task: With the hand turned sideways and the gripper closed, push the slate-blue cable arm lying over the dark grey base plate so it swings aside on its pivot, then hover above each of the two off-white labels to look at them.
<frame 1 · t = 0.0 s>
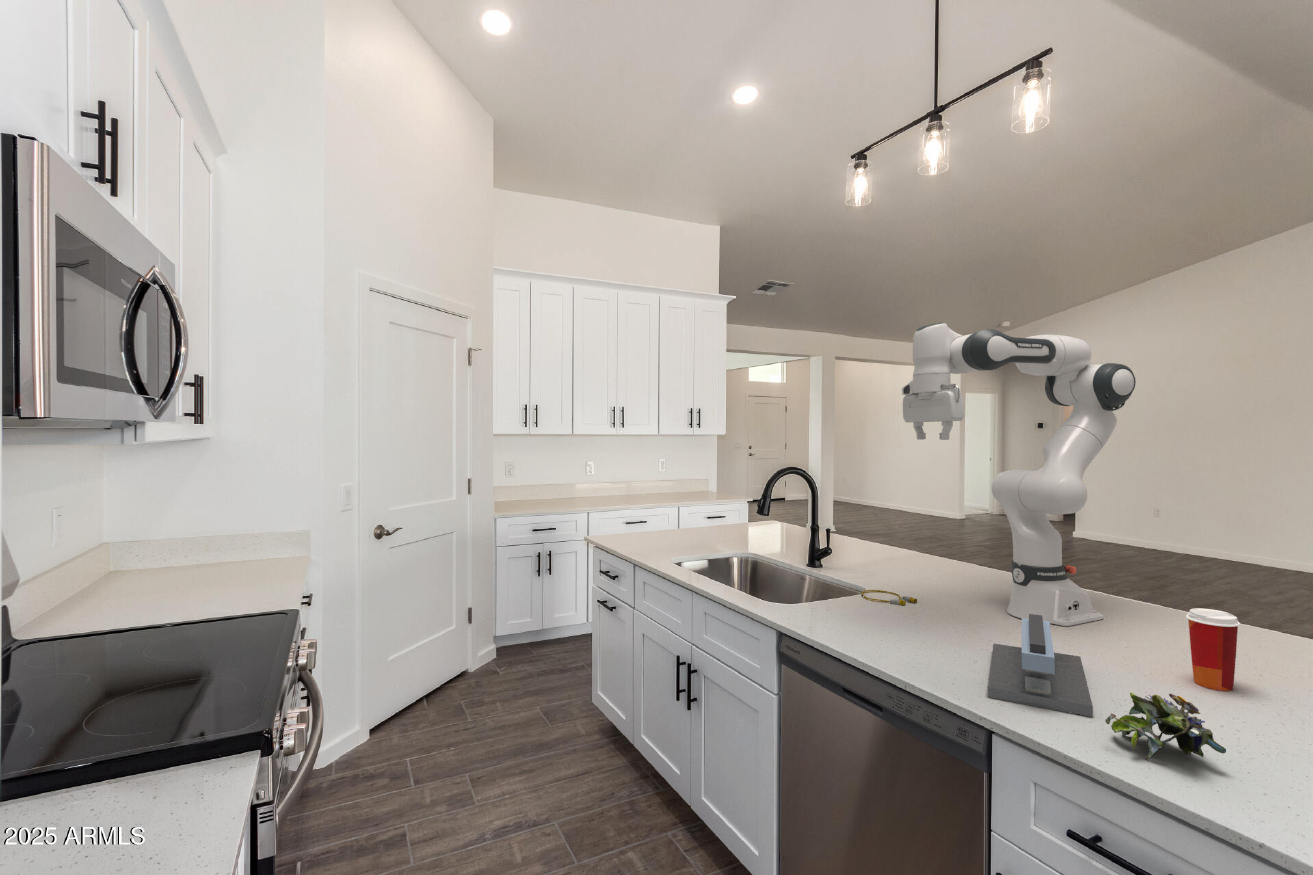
hand: (932, 439, 153), 48 cm above the countertop, tool pointing down, fingers open, 8 cm apart
paper cup: (1212, 685, 115), on the countertop
dark grey base plate: (1036, 680, 118), on the countertop
passion flower: (1161, 756, 91), on the countertop
cable arm: (1036, 645, 118), point 7 cm above the countertop, hinge at 0.0°
extension cord: (886, 600, 177), on the countertop
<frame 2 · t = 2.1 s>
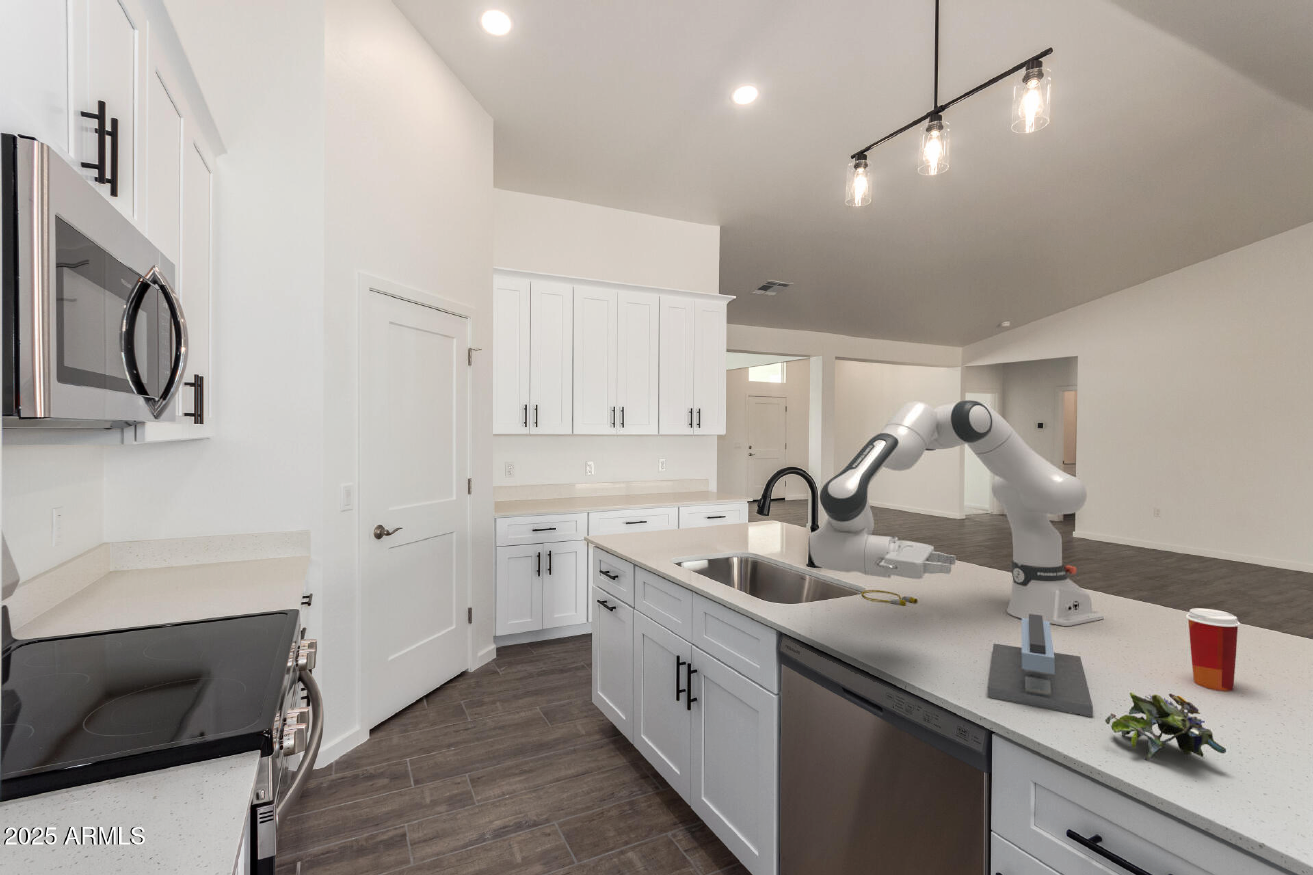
hand: (953, 564, 121), 23 cm above the countertop, tool horizontal, fingers open, 8 cm apart
nothing on the countertop moved.
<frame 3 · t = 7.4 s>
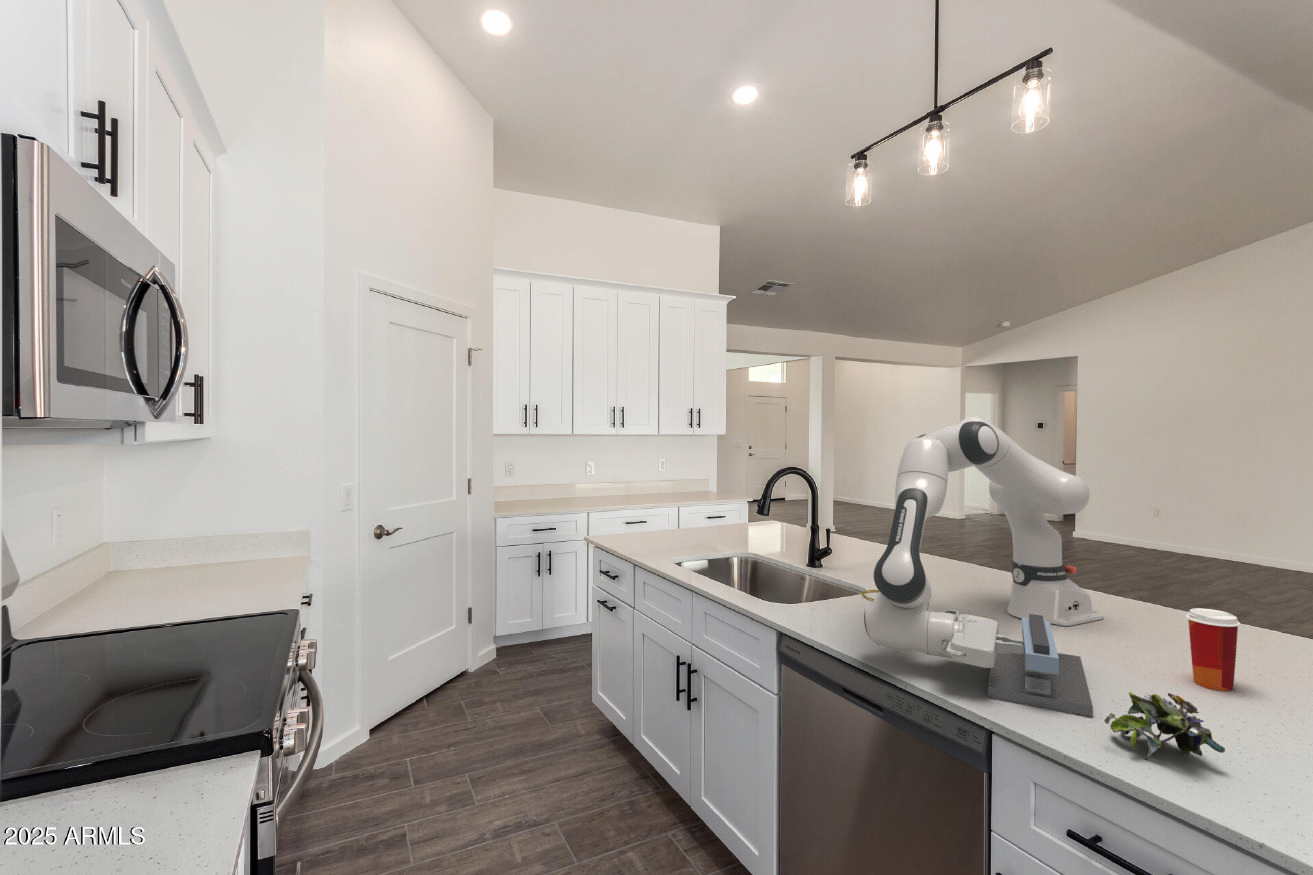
hand: (1024, 647, 115), 8 cm above the countertop, tool horizontal, fingers closed, pressing on cable arm
cable arm: (1038, 645, 117), point 7 cm above the countertop, hinge at 1.6°, touching gripper
everything else where it was.
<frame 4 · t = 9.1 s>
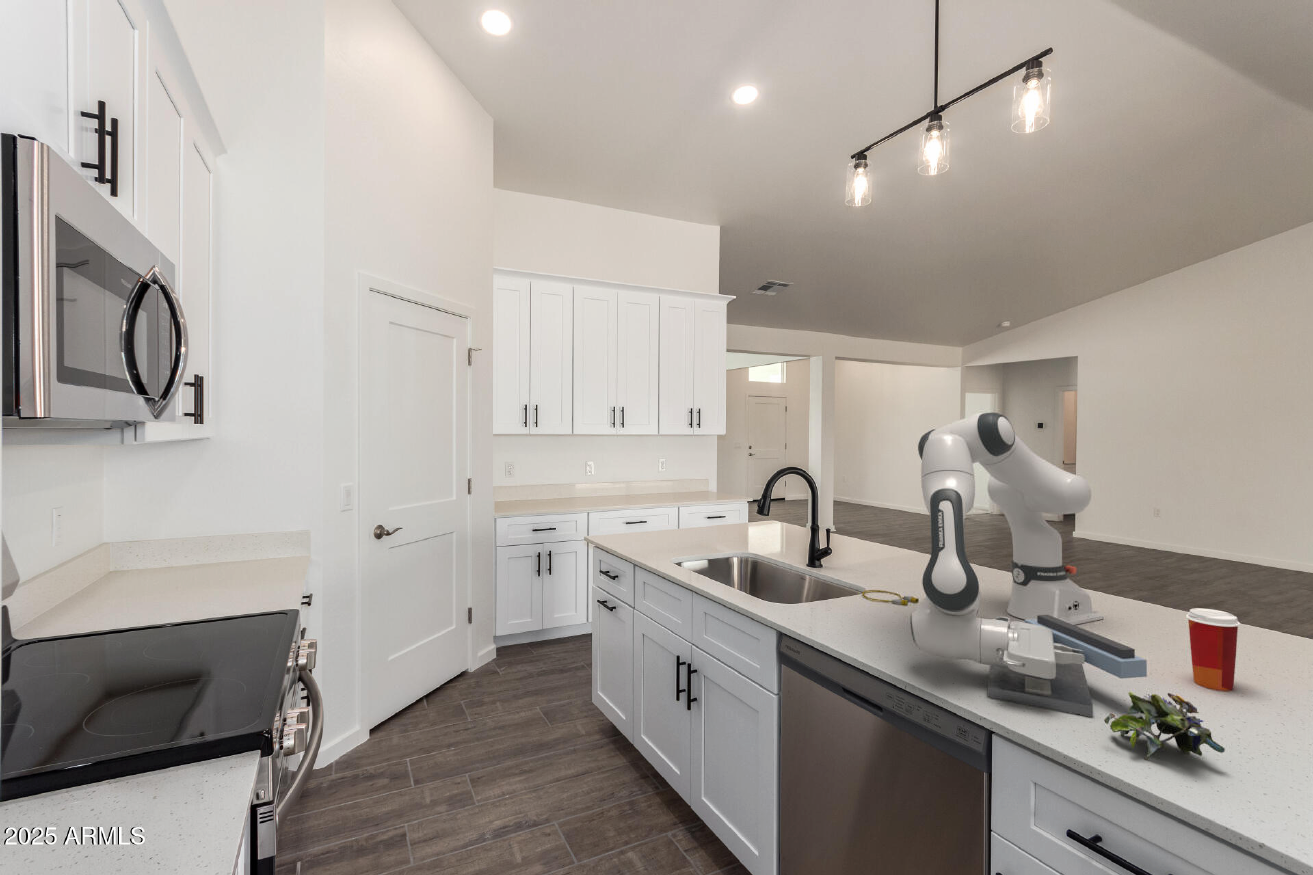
hand: (1084, 657, 110), 8 cm above the countertop, tool horizontal, fingers closed
cable arm: (1075, 647, 116), point 7 cm above the countertop, hinge at 38.4°, touching gripper
everything else where it was.
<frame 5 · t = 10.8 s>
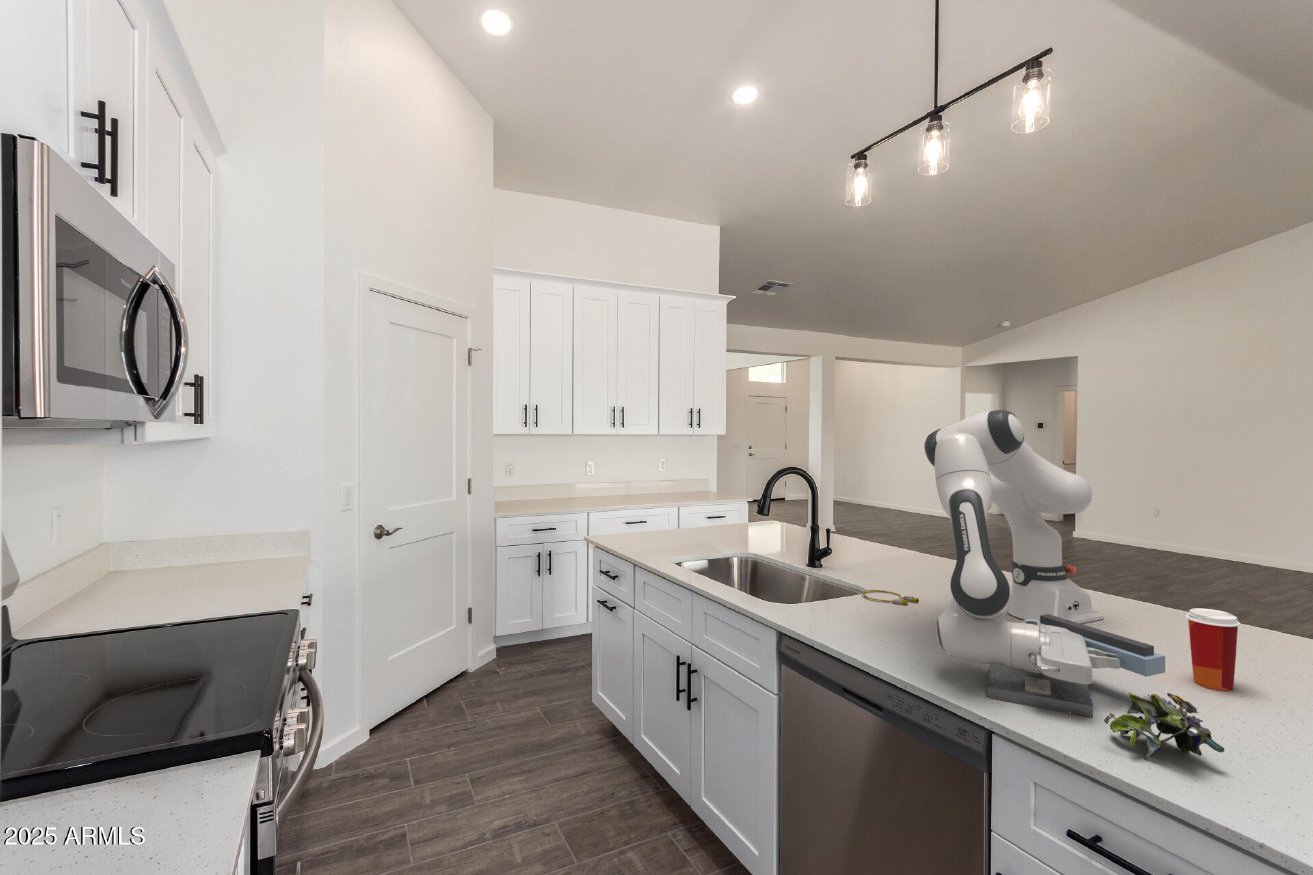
hand: (1119, 661, 107), 8 cm above the countertop, tool horizontal, fingers closed
cable arm: (1084, 646, 117), point 7 cm above the countertop, hinge at 50.6°, touching gripper
everything else where it was.
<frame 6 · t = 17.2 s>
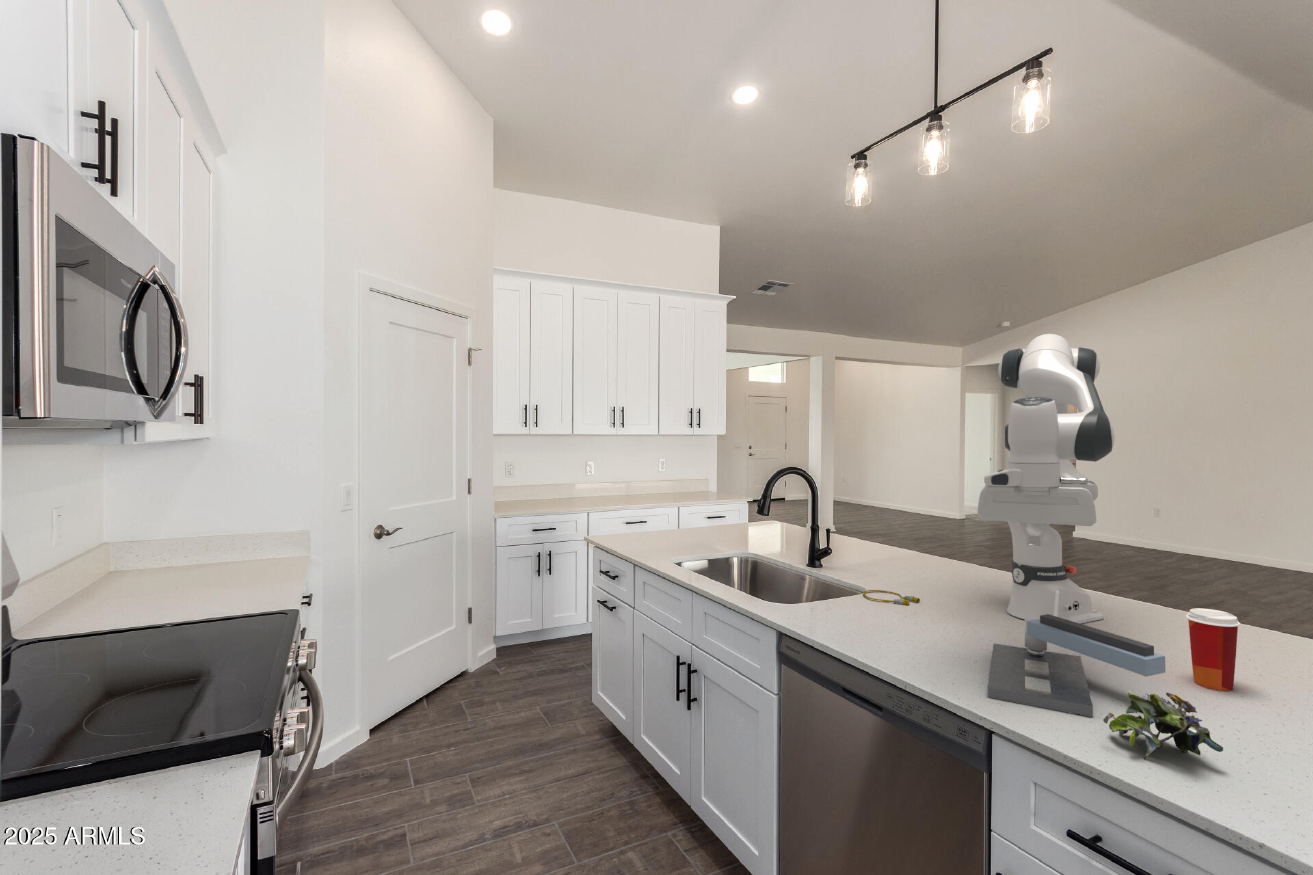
hand: (1034, 545, 120), 27 cm above the countertop, tool pointing down, fingers closed
cable arm: (1084, 646, 117), point 7 cm above the countertop, hinge at 50.6°
everything else where it was.
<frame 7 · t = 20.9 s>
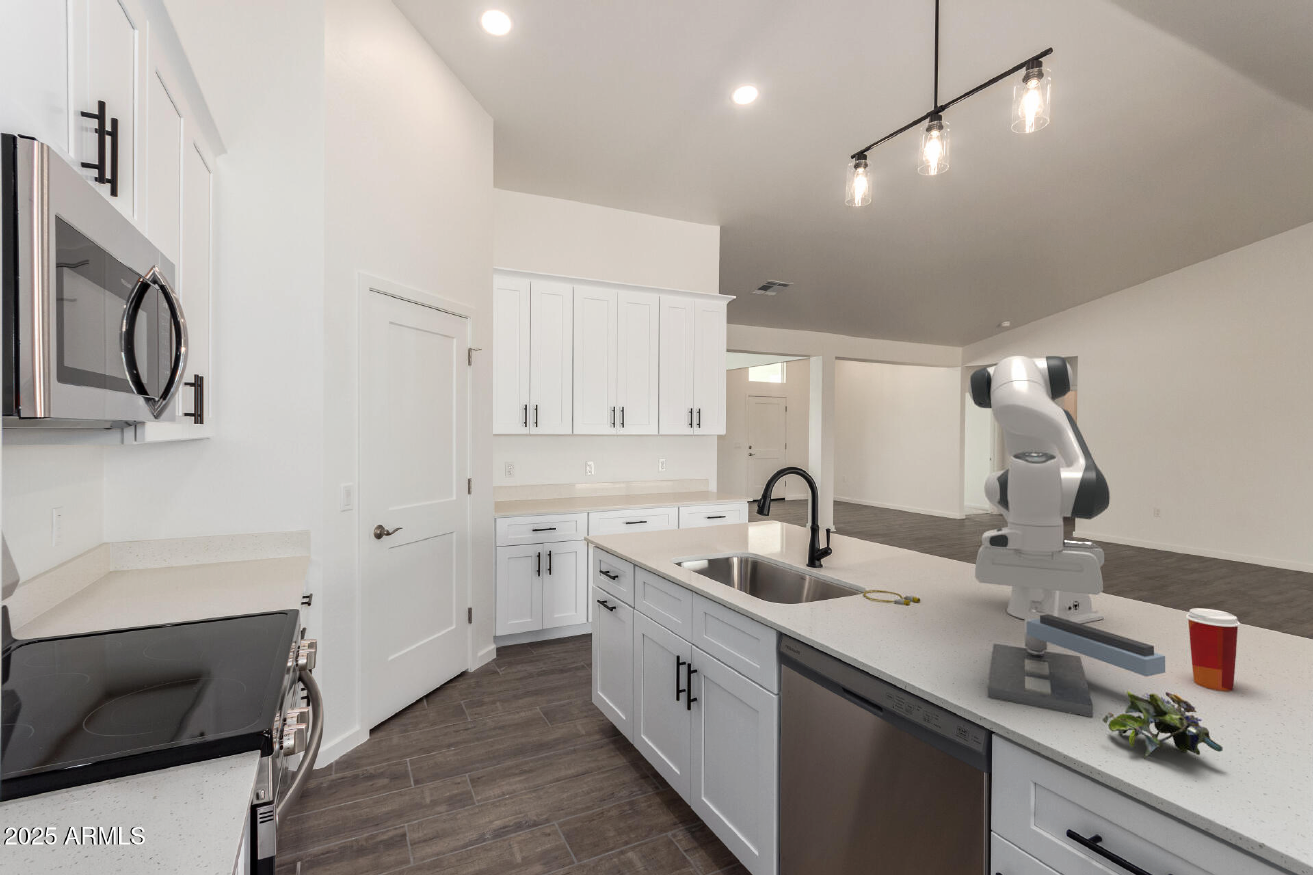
hand: (1036, 611, 111), 16 cm above the countertop, tool pointing down, fingers closed
nothing on the countertop moved.
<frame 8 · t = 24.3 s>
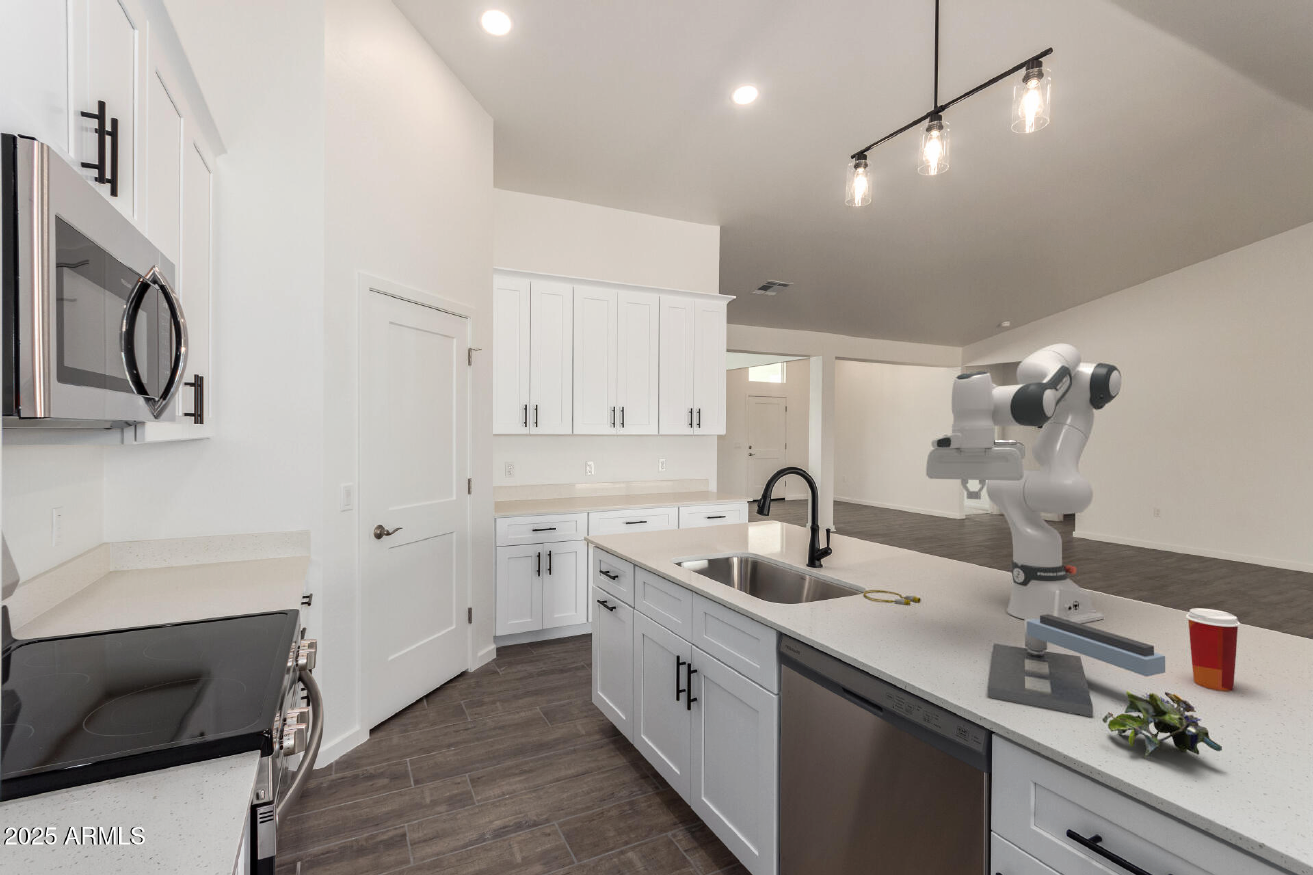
hand: (973, 498, 139), 34 cm above the countertop, tool pointing down, fingers closed
nothing on the countertop moved.
at the end: cable arm at +51° (first picture: +0°) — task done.
